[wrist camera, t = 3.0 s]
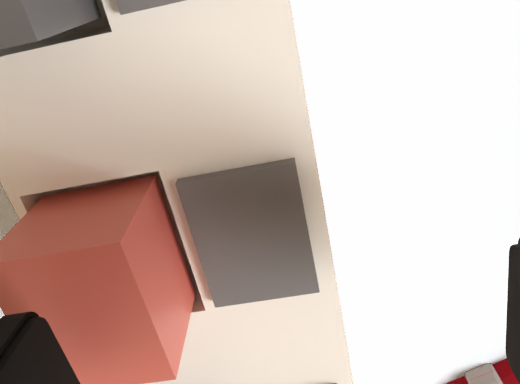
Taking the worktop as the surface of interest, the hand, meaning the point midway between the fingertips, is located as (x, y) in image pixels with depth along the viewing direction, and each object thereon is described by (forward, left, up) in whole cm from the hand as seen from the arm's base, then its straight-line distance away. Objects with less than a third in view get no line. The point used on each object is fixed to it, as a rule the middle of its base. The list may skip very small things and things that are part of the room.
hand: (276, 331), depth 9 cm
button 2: (0, -4, -4) cm, 6 cm away
